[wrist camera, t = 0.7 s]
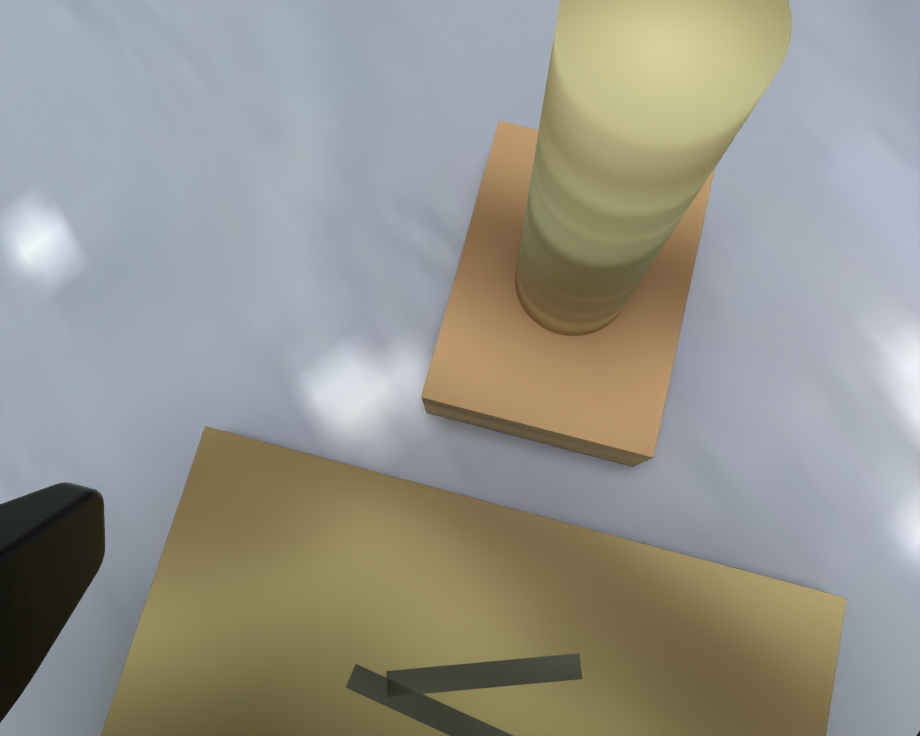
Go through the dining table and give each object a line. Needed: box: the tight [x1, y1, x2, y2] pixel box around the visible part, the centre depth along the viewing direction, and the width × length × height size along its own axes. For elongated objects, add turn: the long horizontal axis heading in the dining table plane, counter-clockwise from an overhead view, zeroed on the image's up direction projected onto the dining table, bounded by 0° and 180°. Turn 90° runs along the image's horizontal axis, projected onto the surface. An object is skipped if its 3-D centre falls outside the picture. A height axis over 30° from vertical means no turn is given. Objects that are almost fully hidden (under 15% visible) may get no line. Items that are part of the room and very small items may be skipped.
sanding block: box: [421, 0, 792, 467], centre depth 16 cm, size 8×6×13 cm
